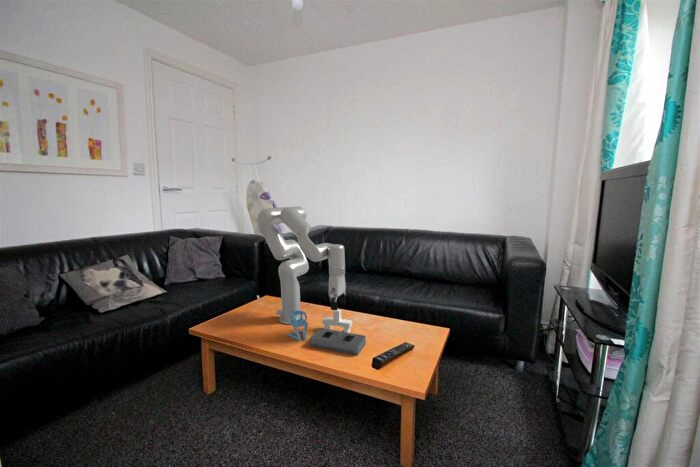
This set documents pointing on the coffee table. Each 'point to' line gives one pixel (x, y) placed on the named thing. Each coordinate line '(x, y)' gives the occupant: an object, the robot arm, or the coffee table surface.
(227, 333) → the coffee table surface
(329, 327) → the white stepped block
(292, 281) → the robot arm
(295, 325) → the chair
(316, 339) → the slotted plate
